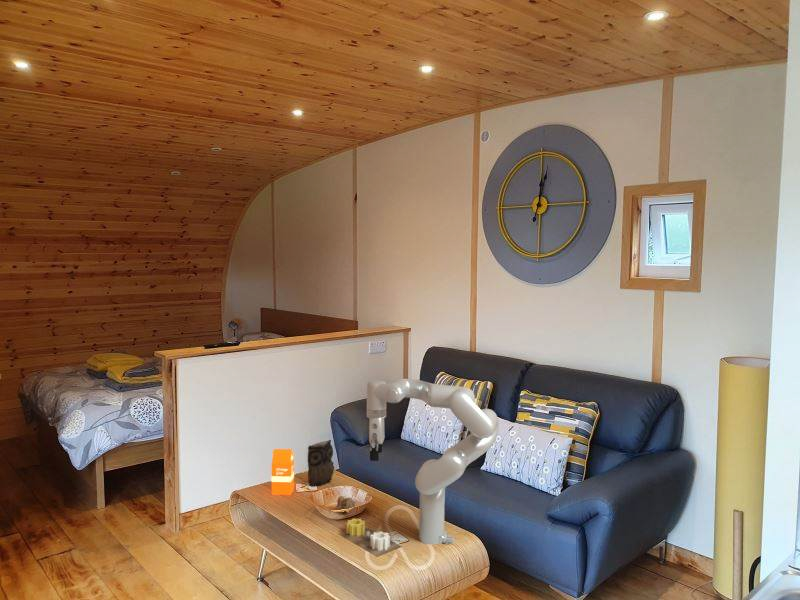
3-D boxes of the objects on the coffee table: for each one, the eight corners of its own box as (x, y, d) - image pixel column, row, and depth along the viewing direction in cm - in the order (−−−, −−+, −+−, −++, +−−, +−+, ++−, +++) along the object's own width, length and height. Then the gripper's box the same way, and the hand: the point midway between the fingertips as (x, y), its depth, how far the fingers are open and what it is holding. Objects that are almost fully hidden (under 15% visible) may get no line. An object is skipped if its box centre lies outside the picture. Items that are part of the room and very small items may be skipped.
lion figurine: (357, 519, 254) (357, 498, 254) (346, 522, 251) (346, 500, 251) (340, 506, 266) (340, 486, 266) (329, 509, 264) (329, 489, 263)
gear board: (402, 550, 228) (402, 538, 227) (376, 560, 220) (377, 548, 219) (362, 528, 246) (362, 517, 245) (337, 537, 238) (337, 526, 237)
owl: (334, 478, 300) (334, 438, 298) (329, 488, 287) (329, 446, 286) (309, 477, 301) (309, 437, 299) (303, 487, 288) (302, 445, 287)
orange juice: (290, 495, 279) (290, 451, 277) (271, 494, 279) (271, 451, 278) (294, 488, 287) (294, 446, 285) (275, 488, 287) (275, 446, 285)
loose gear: (393, 546, 227) (393, 536, 227) (378, 552, 223) (378, 542, 222) (381, 539, 233) (381, 529, 232) (366, 545, 228) (366, 535, 228)
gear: (368, 530, 240) (368, 520, 240) (359, 537, 234) (359, 527, 234) (352, 526, 244) (352, 517, 243) (343, 534, 237) (343, 524, 237)
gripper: (383, 419, 227) (382, 464, 228) (388, 407, 244) (388, 449, 245) (363, 418, 228) (362, 463, 229) (370, 406, 245) (369, 448, 246)
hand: (376, 456), depth 237 cm, fingers open, 9 cm apart
